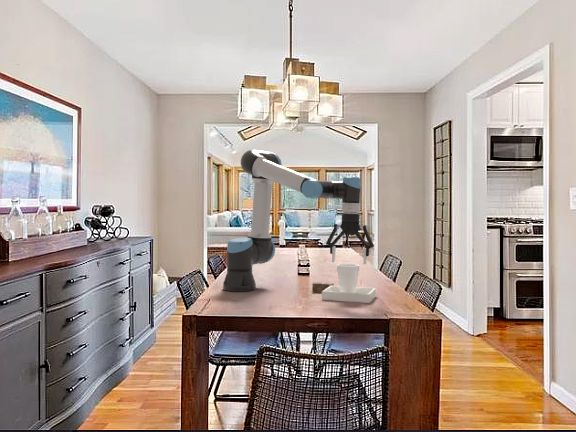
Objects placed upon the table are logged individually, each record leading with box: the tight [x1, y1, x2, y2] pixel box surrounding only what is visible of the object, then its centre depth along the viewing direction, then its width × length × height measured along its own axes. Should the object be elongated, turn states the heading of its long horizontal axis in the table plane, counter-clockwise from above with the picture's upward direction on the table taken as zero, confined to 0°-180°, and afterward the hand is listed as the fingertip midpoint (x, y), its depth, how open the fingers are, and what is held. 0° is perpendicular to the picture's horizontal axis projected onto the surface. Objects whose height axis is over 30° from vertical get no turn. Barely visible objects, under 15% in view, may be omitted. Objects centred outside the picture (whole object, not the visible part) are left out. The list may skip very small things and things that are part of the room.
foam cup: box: [336, 263, 360, 293], centre depth 221 cm, size 10×9×13 cm
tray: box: [321, 284, 377, 304], centre depth 221 cm, size 20×16×4 cm
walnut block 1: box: [311, 281, 323, 293], centre depth 236 cm, size 4×4×4 cm
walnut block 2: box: [322, 282, 335, 291], centre depth 234 cm, size 4×4×4 cm
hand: (349, 262), depth 221 cm, fingers open, 13 cm apart
